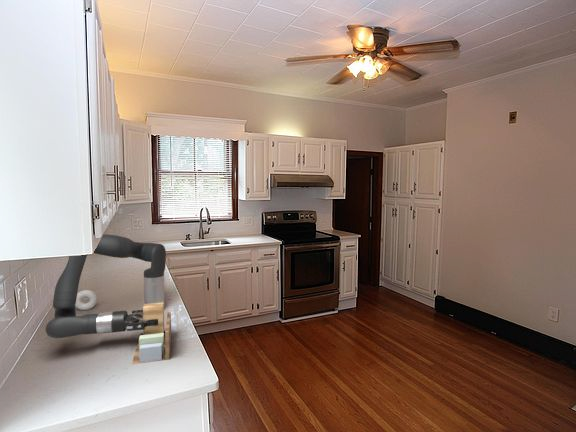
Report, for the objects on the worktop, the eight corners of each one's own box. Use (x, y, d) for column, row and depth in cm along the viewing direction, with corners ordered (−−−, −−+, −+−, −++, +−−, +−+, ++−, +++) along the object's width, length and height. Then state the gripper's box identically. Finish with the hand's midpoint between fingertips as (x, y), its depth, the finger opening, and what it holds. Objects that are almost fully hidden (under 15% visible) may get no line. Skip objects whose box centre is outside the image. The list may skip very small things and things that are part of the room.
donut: (73, 312, 161) (72, 292, 160) (74, 310, 164) (73, 290, 163) (97, 309, 165) (96, 289, 164) (97, 307, 168) (97, 287, 167)
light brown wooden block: (144, 341, 130) (144, 303, 128) (164, 339, 132) (163, 302, 131) (143, 346, 126) (143, 307, 125) (163, 344, 128) (163, 305, 127)
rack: (138, 342, 132) (138, 314, 131) (171, 338, 135) (170, 311, 134) (131, 367, 113) (130, 335, 112) (169, 362, 117) (168, 331, 116)
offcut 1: (140, 354, 120) (140, 335, 120) (164, 351, 123) (163, 332, 122) (139, 358, 117) (138, 339, 117) (163, 355, 120) (163, 336, 119)
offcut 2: (140, 358, 117) (140, 345, 116) (162, 356, 119) (161, 342, 119) (139, 362, 115) (139, 348, 114) (161, 359, 117) (161, 345, 116)
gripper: (107, 319, 117) (157, 315, 122) (115, 305, 130) (160, 302, 135) (108, 340, 117) (157, 335, 122) (116, 324, 131) (160, 320, 136)
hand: (159, 317), depth 129 cm, fingers open, 8 cm apart
